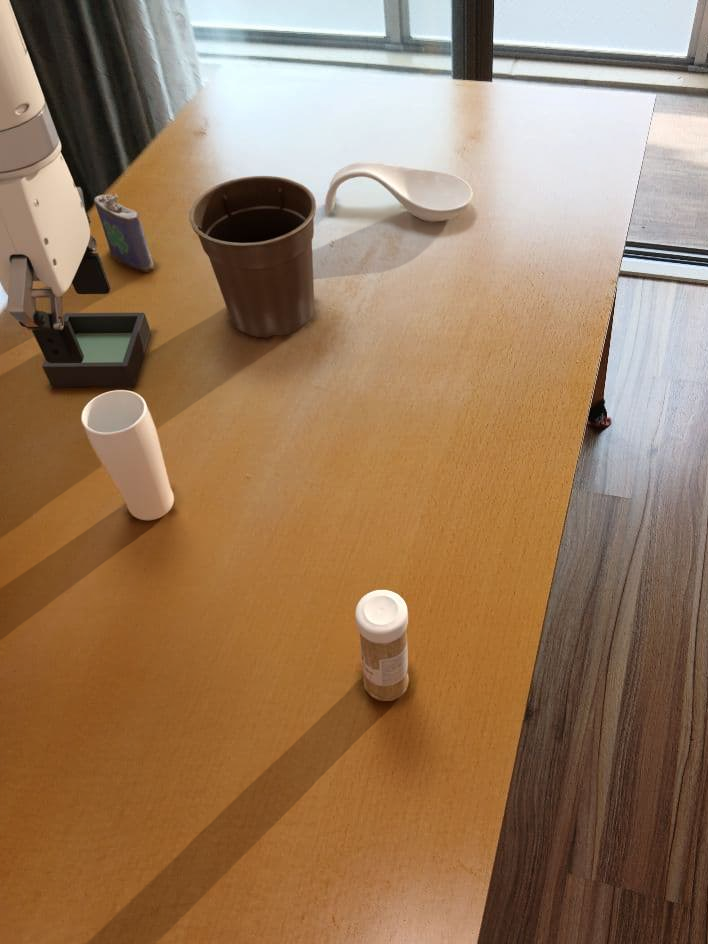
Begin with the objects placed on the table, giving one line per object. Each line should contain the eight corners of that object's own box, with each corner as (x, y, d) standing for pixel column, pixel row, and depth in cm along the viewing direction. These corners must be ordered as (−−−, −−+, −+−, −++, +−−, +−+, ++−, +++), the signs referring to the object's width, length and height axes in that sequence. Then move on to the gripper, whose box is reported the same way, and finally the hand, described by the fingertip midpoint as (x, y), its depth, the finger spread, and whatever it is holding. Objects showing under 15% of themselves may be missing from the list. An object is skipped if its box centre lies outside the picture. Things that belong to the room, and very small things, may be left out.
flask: (158, 267, 124) (138, 201, 115) (142, 276, 123) (121, 210, 114) (120, 245, 128) (98, 180, 119) (105, 254, 126) (81, 188, 118)
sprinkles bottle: (357, 671, 82) (347, 597, 71) (399, 655, 83) (395, 580, 72) (373, 710, 79) (366, 639, 68) (416, 693, 80) (416, 621, 69)
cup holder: (51, 387, 108) (41, 366, 105) (73, 333, 115) (64, 313, 112) (134, 386, 108) (127, 366, 105) (151, 332, 115) (144, 312, 112)
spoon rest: (473, 193, 135) (475, 151, 129) (470, 234, 128) (472, 190, 122) (332, 189, 137) (328, 147, 131) (321, 229, 130) (317, 186, 124)
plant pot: (192, 330, 115) (162, 225, 102) (252, 268, 123) (233, 164, 111) (291, 361, 110) (274, 256, 97) (347, 294, 119) (338, 190, 106)
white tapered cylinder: (178, 525, 93) (143, 432, 81) (119, 529, 93) (74, 437, 81) (183, 481, 97) (150, 386, 86) (126, 485, 97) (85, 391, 85)
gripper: (-10, 83, 65) (65, 269, 79) (-93, 199, 55) (10, 391, 68) (82, 81, 65) (142, 268, 79) (17, 198, 55) (98, 390, 68)
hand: (80, 325), depth 74 cm, fingers open, 9 cm apart
